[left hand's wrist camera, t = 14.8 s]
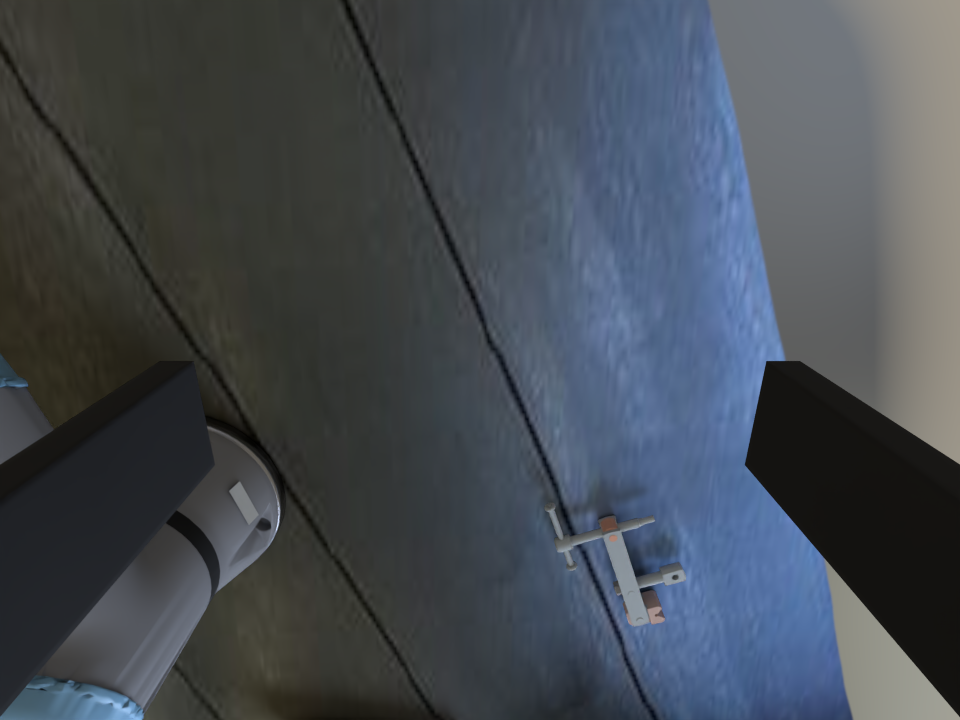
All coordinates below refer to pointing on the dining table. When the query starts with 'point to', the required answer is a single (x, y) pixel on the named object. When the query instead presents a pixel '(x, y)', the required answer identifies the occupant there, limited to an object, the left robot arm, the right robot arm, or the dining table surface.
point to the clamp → (623, 566)
